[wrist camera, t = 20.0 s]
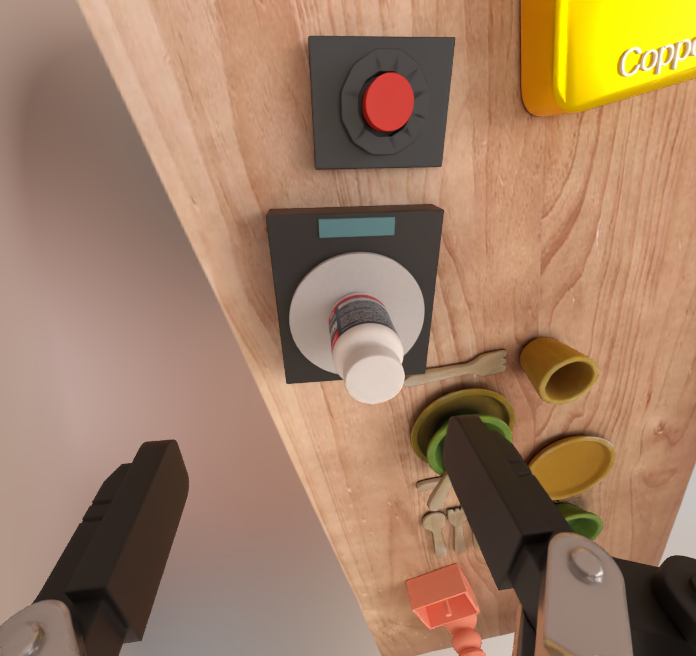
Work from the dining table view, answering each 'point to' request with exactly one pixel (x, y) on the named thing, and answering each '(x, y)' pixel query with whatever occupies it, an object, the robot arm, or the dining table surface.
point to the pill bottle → (366, 348)
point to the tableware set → (498, 414)
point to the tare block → (348, 90)
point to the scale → (352, 277)
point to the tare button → (388, 102)
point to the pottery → (448, 606)
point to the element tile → (602, 51)
